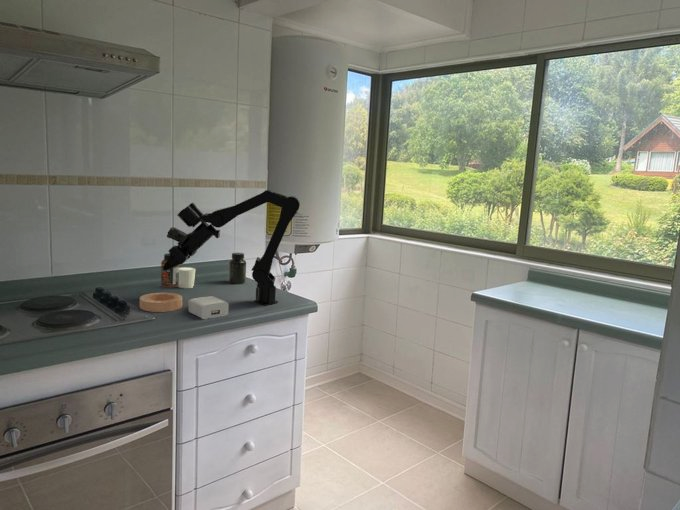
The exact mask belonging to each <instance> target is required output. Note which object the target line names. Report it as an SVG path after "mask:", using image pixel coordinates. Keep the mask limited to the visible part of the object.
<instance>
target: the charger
mask: <svg viewBox="0 0 680 510" xmlns="http://www.w3.org/2000/svg"><path fill="white" fill-rule="evenodd" d="M187 304H188V312H189V313H190V314H193V315H194V316H196V317H198V318H200V319H202V320H209V319H215V318H219V317H220V316H221V317H227V316H228V315H229V302H227V301H225V300H222V299H221V298H217V297H216V296H211V295H209V296H201V297H195V298H194V297H193V298H191V299H189V300H188V302H187ZM226 315H227V316H226ZM221 317H220V318H221ZM208 318H209V319H208Z"/></svg>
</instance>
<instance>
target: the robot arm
mask: <svg viewBox="0 0 680 510" xmlns="http://www.w3.org/2000/svg"><path fill="white" fill-rule="evenodd" d="M265 203H270V204H272V205H275V206H277V207H279V208H281V210H280V214H279V219H278V221H277V224H276V226H275V229H274V231H273V233H272V235H271V237H270V240H269V241H268V244H267V246H266V248H265V251H264V253H263V255H262V256H261V257H259V256H257V257H256V258H255V261H254V265H253V266H252V268H251V271H252V273H251V276H252V277H251V278H252V279H253V280H254V282H256V283H257V284H256V288H255V299H253V300H252V302H253V303H256V304H259V305H264V306H270V305H273V304H277V303H279V301H278V300H277V299H276V295H277V294H276V292H277V286H276V285H275V281H276V277H275V275H274V274H273V273H272V272H271V269H272V265H273V260H274V257H275V256H276V254H277V251H278V249H279V247H280V244H281V242H282V239H283V238H284V234H285V232H286V230H287V227H288V226H289V224H290V223H291V221H292V220H293V218H294V217H295V215H296V214H297V212H298V210H299V209H300V205H301V203H300V200H299V198H298V197H296V196H294V195H289V196H286V195H284V194H281V193H277V192H275V191H272V190H270V189H266V190H264V191H262V192H260V193H259V194H257V195H255V196H252V197H250V198H248V199H245V200H244V201H242V202H239V203H237V204H234V205H231V206H228V207H224V208H220V209H217V210H214V211H212V212H209V213H208V212H206V213H203V211H201V210H200V209H199V208H198V207H197V206H196V204H195V203H194V202H191V203H189V205H187V206H186V207H184V208H183V209H181V211H179V212H178V214H177V217H179V219H180V220H181V221H182V223H184V224H185V225H186V226H187V227H188V228H191V227H192V228H193V230H192V231H191V232H189V233H186V232H184V231H183V230H181V229H179V228H176V227H173V226H172V227H170V228H169V231H167V235H166V238H168V239H171V240H174V242H177V243H176V244H177V245H173V246H171V248H169V250H168V253H170V257H169V259H168V260H167V262H166V263H165V265H164V266H163V269H164V270H167V269H169V268H172V267H175V266H177V265H179V266H180V265H183V264H184V263H186V261H187V260H189V259H191V257H194V255H195V254H196V253H197V252H198V250H199V249H201V247H202V246H204V244H205V243H207V242H208V241H209V240H210V239H211V238H212V237H214V238H216V239H219V238H220V237H221V235H220V233H221V229H218V228H222V227H224V226H225V225H227V224H228V223H230V222H231V221H232V220H234V219H235V218H236V217H238V216H240V215H242V214H244V213H246V212H249V211H251V210H252V209H256V208H258V207H260V206H261V205H264V204H265ZM198 224H199V225H198ZM216 228H217V229H216Z"/></svg>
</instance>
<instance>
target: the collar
mask: <svg viewBox="0 0 680 510" xmlns="http://www.w3.org/2000/svg"><path fill="white" fill-rule="evenodd" d="M182 308H183V296H182V295H181V294H178V293H172V292H151V293H147V294H146V293H145V294H144V295H141V296H140V297H139V309H140V310H143V311H147V312H151V313H152V312H153V313H164V312H174V311H177V310H180V309H182Z"/></svg>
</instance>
